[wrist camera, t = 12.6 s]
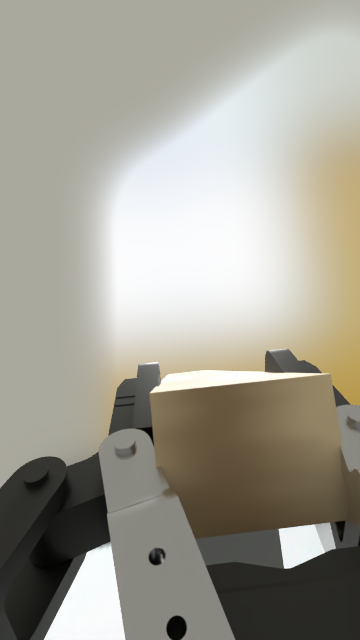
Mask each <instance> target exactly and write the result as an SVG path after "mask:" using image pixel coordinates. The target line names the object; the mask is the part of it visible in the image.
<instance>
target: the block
mask: <svg viewBox="0 0 360 640" xmlns="http://www.w3.org/2000/svg"><path fill="white" fill-rule="evenodd" d="M149 394H150V405H151V416H152V428H153V439H154V450H155V461H156V467H160V466H161V467H162V470H163V473H164V475H165V478H166V481H167V483H168V486H169V488H170V491H172V490H175V492H176V493H177V495H178V498H179V500H180V502H181V505H182V508H183V510H184V513H185V515H186V518H187V520H188V523H189V525H190V528H191V530H192V533H193V535H194V538H195V539H198V538H206V537H215V536H223V535H231V534H239V533H247V532H255V531H263V530H272V529H280V528H288V527H296V526H304V525H312V524H320V523H328V522H337V521H345V520H346V516H347V509H348V497H347V490H346V486H345V482H344V479H343V476H342V473H341V455H340V446H342V440H341V434H340V428H339V422H338V416H337V410H336V404H335V398H334V392H333V386H332V380H331V374H320V373H272V372H244V371H205V370H204V371H195V372H185V373H175V374H168V375H167V376H166V377H165V378H164V379H163V380H162V381H161V384H160V385H159V386H156V387H155V388H154V389H153V390H152V391H151V392H150V393H149Z"/></svg>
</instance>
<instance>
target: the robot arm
mask: <svg viewBox="0 0 360 640" xmlns="http://www.w3.org/2000/svg"><path fill="white" fill-rule="evenodd" d="M265 372H272V373H320V374H322V373H321V372H320V370H319V369H318V368H317V367H316V366H314V365H312V364H310V363H308V362H306V361H305V360H303V361H298V360H297V359H296V357H295V356H294V355H293V354H292V353H291V351H290V350H289V349H279V350H270V351H267V352H266V356H265ZM160 384H161V378H160V371H159V363H158V362H156V363H146V364H139V365H138V373H137V378H133V379H125V380H124V381H123V382H122V383H121V384H120V386H119V387H118V388H117V392H116V399H115V403H114V409H113V414H112V419H111V424H110V429H109V435H108V437H107V438H106V439H105V440H104V441H103V442H102V443H101V445H100V447H99V452H98V453H96V454H95V455H93V456H92V457H90V458H88V459H86V460H84V461H81V462H78V463H75V464H73V465H70V466H67V467H66V464H65V462H64V461H63V460H61V459H60V458H57V457H41V458H38V459H35V460H32V461H30V462H28V463H26V464H25V465H23V466H22V467H20V468H19V469H18V470H17V471H16V472H15V473H14V474H13V475H12V476H11V477H10V478H9V479H8V480H7V481H6V483H5V484H4V485H3V486H2V487H1V488H0V640H44V638H45V636H46V634H47V632H48V630H49V628H50V626H51V624H52V622H53V620H54V618H55V616H56V614H57V612H58V610H59V608H60V606H61V604H62V602H63V600H64V598H65V596H66V594H67V592H68V590H69V588H70V587H71V585H72V583H73V581H74V579H75V577H76V575H77V573H78V571H79V569H80V567H81V565H82V563H83V561H84V559H85V556H86V553H87V552H88V551H90V550H92V549H95V548H97V547H99V546H101V545H103V544H106V543H108V542H110V541H111V546H112V553H113V559H114V566H115V572H116V579H117V586H118V592H119V599H120V606H121V612H122V619H123V625H124V632H125V639H126V640H360V406H358V405H350V403H349V402H348V401H347V400H346V399H345V398H344V397H343V396H342V395H341V394H340V393H339V391H338V390H337V389H336V388H335V387H334V386H333V385H332V386H333V392H334V398H335V404H336V410H337V416H338V422H339V428H340V434H341V440H342V446H340V455H341V473H342V476H343V479H344V482H345V486H346V490H347V497H348V509H347V516H346V520H345V521H337V522H330V525H331V529H332V533H333V537H334V542H335V546H336V549H334V550H330V551H328V552H326V553H324V554H321V555H319V556H317V557H315V558H313V559H310V560H308V561H306V562H304V563H302V564H300V565H297V566H295V567H293V568H290V569H282V568H275V567H268V566H261V565H254V564H248V563H241V562H229V563H221V564H213V565H205V563H204V560H203V558H202V555H201V553H200V550H199V548H198V545H197V543H196V540H195V538H194V535H193V533H192V530H191V528H190V525H189V523H188V520H187V518H186V515H185V513H184V510H183V508H182V505H181V502H180V500H179V498H178V495H177V493H176V492H175V490H172V491H170V488H169V486H168V483H167V481H166V478H165V475H164V473H163V470H162V467H161V466H160V467H156V461H155V450H154V439H153V428H152V416H151V405H150V394H149V393H150V392H151V391H152V390H153V389H154V388H155V387H156V386H159V385H160Z"/></svg>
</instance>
